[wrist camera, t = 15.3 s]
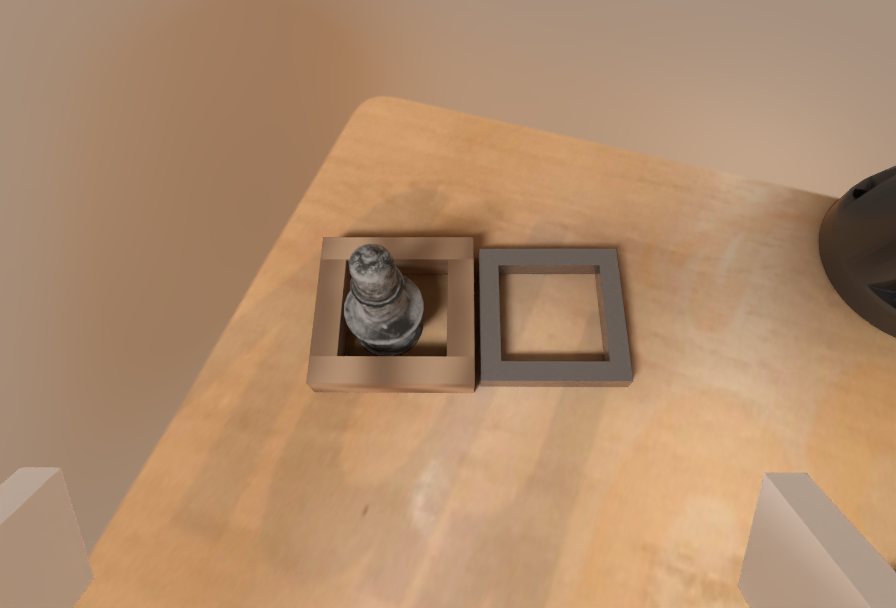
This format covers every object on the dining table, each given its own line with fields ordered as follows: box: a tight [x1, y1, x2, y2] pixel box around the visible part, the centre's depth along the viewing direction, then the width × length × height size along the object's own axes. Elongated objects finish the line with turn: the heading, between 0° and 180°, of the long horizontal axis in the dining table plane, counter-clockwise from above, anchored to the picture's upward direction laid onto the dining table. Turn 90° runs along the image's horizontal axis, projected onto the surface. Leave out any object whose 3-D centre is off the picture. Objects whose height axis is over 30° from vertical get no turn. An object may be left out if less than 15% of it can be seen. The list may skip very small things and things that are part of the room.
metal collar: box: [479, 249, 633, 387], centre depth 44 cm, size 11×11×2 cm
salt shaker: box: [344, 244, 424, 356], centre depth 39 cm, size 6×6×12 cm
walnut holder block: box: [306, 237, 475, 393], centre depth 44 cm, size 12×12×2 cm
